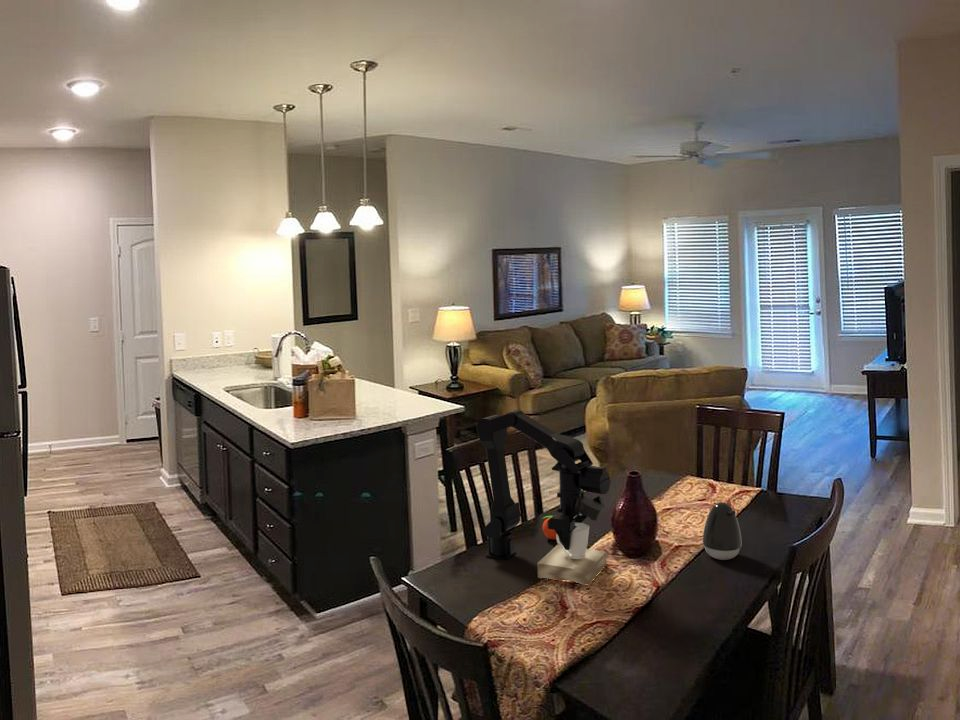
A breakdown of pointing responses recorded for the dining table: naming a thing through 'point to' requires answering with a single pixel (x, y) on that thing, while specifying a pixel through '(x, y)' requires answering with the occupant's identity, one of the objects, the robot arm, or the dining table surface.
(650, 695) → the dining table surface
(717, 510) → the grey egg-shaped figure
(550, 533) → the clementine
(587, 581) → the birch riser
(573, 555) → the cup
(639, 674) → the dining table surface
